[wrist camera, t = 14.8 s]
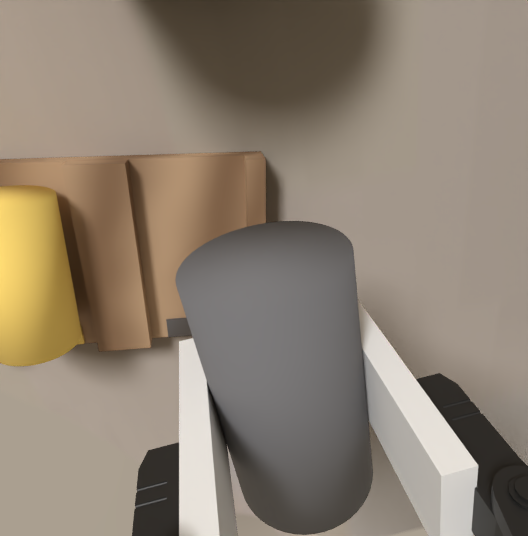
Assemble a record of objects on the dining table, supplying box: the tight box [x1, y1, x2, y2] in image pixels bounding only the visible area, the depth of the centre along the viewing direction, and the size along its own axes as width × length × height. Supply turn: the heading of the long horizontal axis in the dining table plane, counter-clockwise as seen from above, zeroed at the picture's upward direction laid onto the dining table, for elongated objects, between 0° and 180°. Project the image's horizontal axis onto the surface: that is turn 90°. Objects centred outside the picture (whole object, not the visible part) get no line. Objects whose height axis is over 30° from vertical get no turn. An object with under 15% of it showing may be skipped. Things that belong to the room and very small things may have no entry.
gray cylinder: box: [175, 221, 373, 535], centre depth 13 cm, size 8×4×4 cm, turn 11°
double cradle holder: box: [0, 151, 266, 352], centre depth 25 cm, size 17×11×2 cm, turn 90°
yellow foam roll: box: [0, 185, 82, 366], centre depth 22 cm, size 8×4×4 cm, turn 179°
